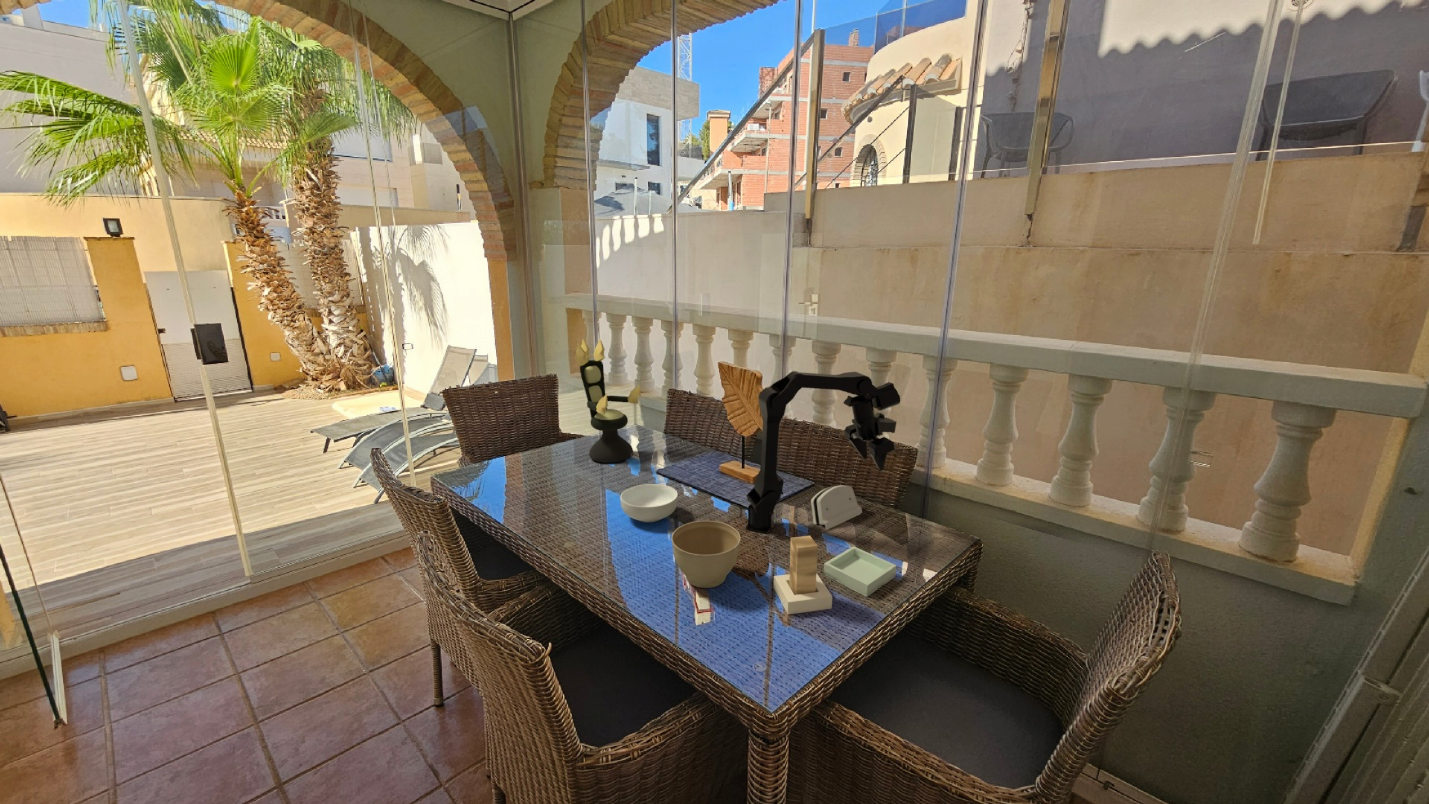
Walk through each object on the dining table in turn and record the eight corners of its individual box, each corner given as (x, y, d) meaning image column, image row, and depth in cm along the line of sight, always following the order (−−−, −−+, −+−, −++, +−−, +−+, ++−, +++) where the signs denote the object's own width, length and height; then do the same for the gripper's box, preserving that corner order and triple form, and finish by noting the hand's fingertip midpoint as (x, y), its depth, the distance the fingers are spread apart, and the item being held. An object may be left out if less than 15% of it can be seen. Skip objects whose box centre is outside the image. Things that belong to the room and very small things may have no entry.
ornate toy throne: (610, 469, 197) (603, 346, 185) (568, 457, 209) (558, 341, 197) (644, 453, 212) (639, 339, 200) (603, 443, 224) (596, 334, 212)
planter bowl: (686, 605, 120) (685, 561, 117) (663, 568, 134) (662, 528, 131) (751, 587, 126) (752, 545, 123) (723, 554, 140) (723, 515, 137)
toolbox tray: (823, 574, 131) (824, 563, 130) (852, 556, 138) (853, 546, 137) (866, 597, 122) (867, 585, 121) (895, 576, 129) (896, 565, 129)
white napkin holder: (826, 530, 152) (818, 495, 152) (814, 529, 156) (806, 495, 156) (863, 512, 162) (855, 480, 162) (850, 512, 166) (843, 480, 166)
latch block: (773, 587, 126) (774, 576, 125) (814, 582, 127) (815, 571, 127) (787, 614, 116) (788, 602, 115) (831, 608, 118) (832, 596, 117)
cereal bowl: (690, 515, 161) (689, 493, 159) (647, 536, 149) (646, 512, 148) (652, 499, 172) (651, 478, 170) (609, 517, 161) (608, 495, 159)
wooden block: (789, 593, 123) (790, 537, 120) (807, 590, 124) (810, 535, 121) (795, 605, 119) (797, 548, 116) (815, 602, 120) (817, 545, 116)
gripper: (908, 415, 146) (916, 466, 150) (872, 398, 163) (880, 445, 168) (871, 428, 144) (880, 480, 149) (839, 410, 161) (848, 456, 166)
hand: (873, 464), depth 158 cm, fingers open, 9 cm apart
